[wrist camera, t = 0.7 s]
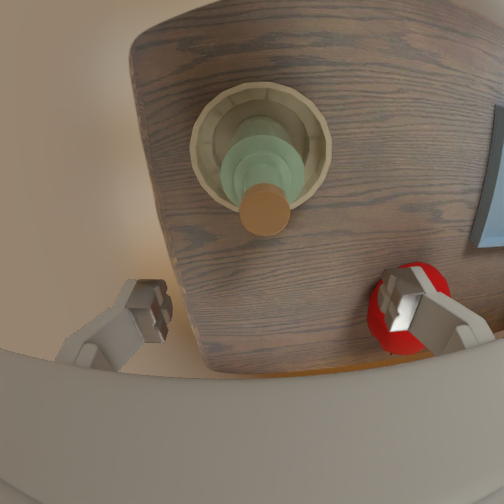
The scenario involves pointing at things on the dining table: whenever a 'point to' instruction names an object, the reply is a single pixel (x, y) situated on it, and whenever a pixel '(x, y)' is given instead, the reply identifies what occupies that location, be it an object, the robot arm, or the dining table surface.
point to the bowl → (259, 103)
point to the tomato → (404, 339)
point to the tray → (492, 192)
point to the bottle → (262, 174)
